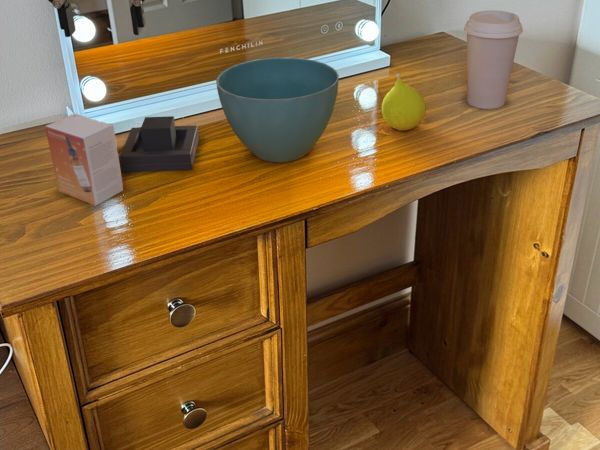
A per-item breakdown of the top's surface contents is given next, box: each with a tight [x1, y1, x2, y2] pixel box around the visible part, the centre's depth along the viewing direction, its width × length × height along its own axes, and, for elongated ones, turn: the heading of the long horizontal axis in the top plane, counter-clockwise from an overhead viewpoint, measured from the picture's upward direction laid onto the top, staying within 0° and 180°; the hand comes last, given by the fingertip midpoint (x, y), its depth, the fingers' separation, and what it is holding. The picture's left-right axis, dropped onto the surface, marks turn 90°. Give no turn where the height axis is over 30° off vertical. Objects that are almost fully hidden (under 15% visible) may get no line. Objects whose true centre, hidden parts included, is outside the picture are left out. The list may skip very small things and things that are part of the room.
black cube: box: [140, 115, 177, 151], centre depth 118 cm, size 4×4×4 cm
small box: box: [44, 112, 124, 207], centre depth 108 cm, size 8×6×10 cm
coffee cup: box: [463, 10, 524, 110], centre depth 131 cm, size 10×10×15 cm
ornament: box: [380, 65, 427, 131], centre depth 124 cm, size 7×7×10 cm
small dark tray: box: [119, 124, 200, 173], centre depth 119 cm, size 11×11×3 cm
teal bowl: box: [215, 57, 340, 163], centre depth 117 cm, size 18×18×12 cm
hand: (104, 33), depth 109 cm, fingers open, 9 cm apart
